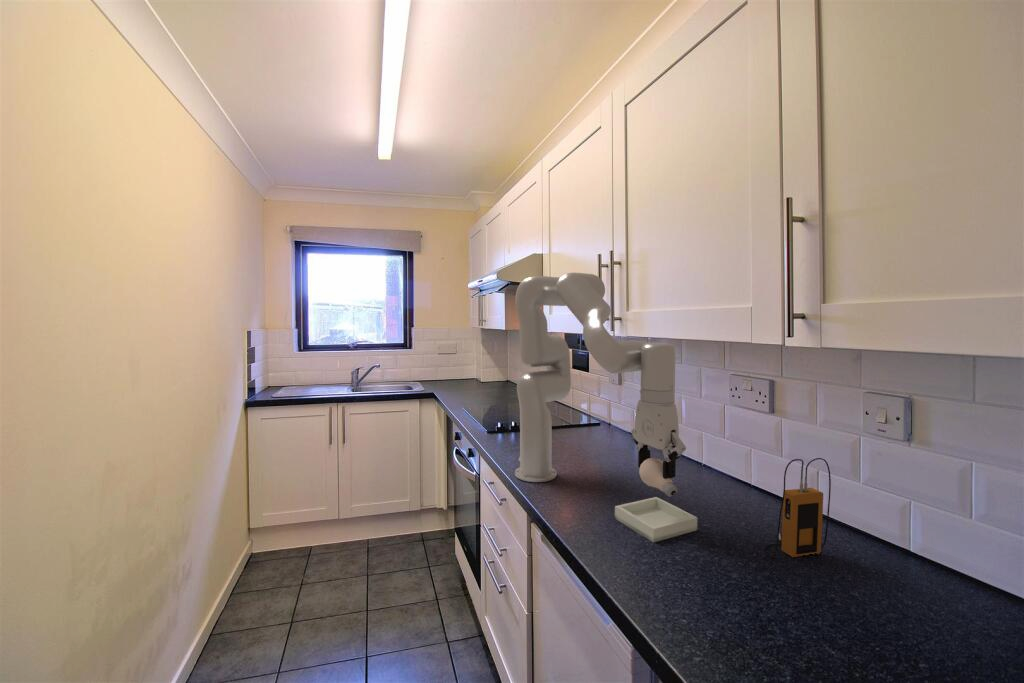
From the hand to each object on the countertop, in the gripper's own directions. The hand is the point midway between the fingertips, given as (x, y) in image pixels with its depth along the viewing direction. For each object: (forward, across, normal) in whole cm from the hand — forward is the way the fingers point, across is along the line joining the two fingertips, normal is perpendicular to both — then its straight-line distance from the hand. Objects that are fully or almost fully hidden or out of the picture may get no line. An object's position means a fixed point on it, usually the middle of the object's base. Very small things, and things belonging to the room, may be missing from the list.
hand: (656, 471), depth 106 cm
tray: (+13, 0, 0) cm, 13 cm away
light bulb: (+4, +1, -1) cm, 4 cm away
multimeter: (+13, +19, +18) cm, 30 cm away
